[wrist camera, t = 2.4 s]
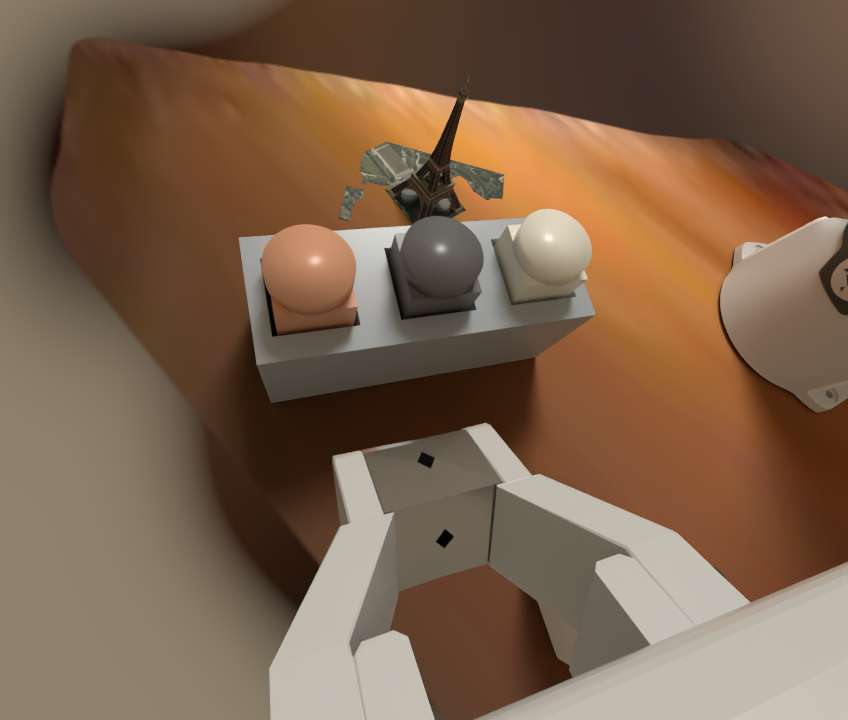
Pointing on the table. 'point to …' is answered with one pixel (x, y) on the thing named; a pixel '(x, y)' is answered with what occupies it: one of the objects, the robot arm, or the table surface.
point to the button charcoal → (435, 268)
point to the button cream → (543, 257)
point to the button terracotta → (310, 279)
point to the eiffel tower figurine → (424, 175)
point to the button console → (401, 324)
